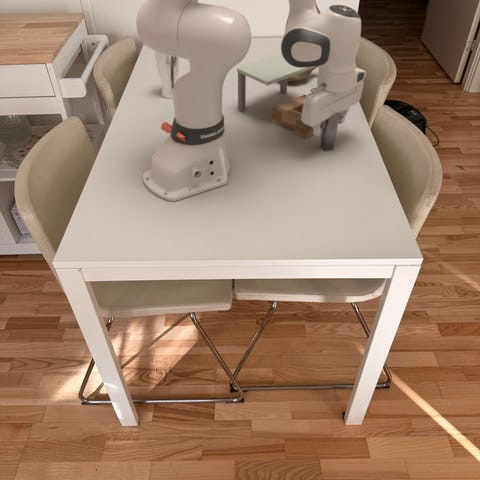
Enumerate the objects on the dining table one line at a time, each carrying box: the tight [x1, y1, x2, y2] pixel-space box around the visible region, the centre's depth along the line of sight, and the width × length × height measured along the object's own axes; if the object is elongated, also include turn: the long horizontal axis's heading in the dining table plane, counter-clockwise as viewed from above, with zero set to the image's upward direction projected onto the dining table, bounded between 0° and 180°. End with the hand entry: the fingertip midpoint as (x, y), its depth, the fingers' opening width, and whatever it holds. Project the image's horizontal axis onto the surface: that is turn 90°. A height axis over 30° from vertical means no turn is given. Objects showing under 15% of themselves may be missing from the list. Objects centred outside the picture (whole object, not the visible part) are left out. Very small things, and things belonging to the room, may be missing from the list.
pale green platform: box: [236, 52, 318, 113], centre depth 138 cm, size 20×13×13 cm, turn 131°
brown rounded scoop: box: [287, 66, 319, 82], centre depth 155 cm, size 14×18×10 cm
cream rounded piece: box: [154, 50, 180, 99], centre depth 144 cm, size 7×7×15 cm
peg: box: [319, 113, 339, 152], centre depth 121 cm, size 4×4×10 cm
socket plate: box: [270, 94, 340, 139], centre depth 134 cm, size 14×14×4 cm
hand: (328, 128), depth 122 cm, fingers open, 8 cm apart
